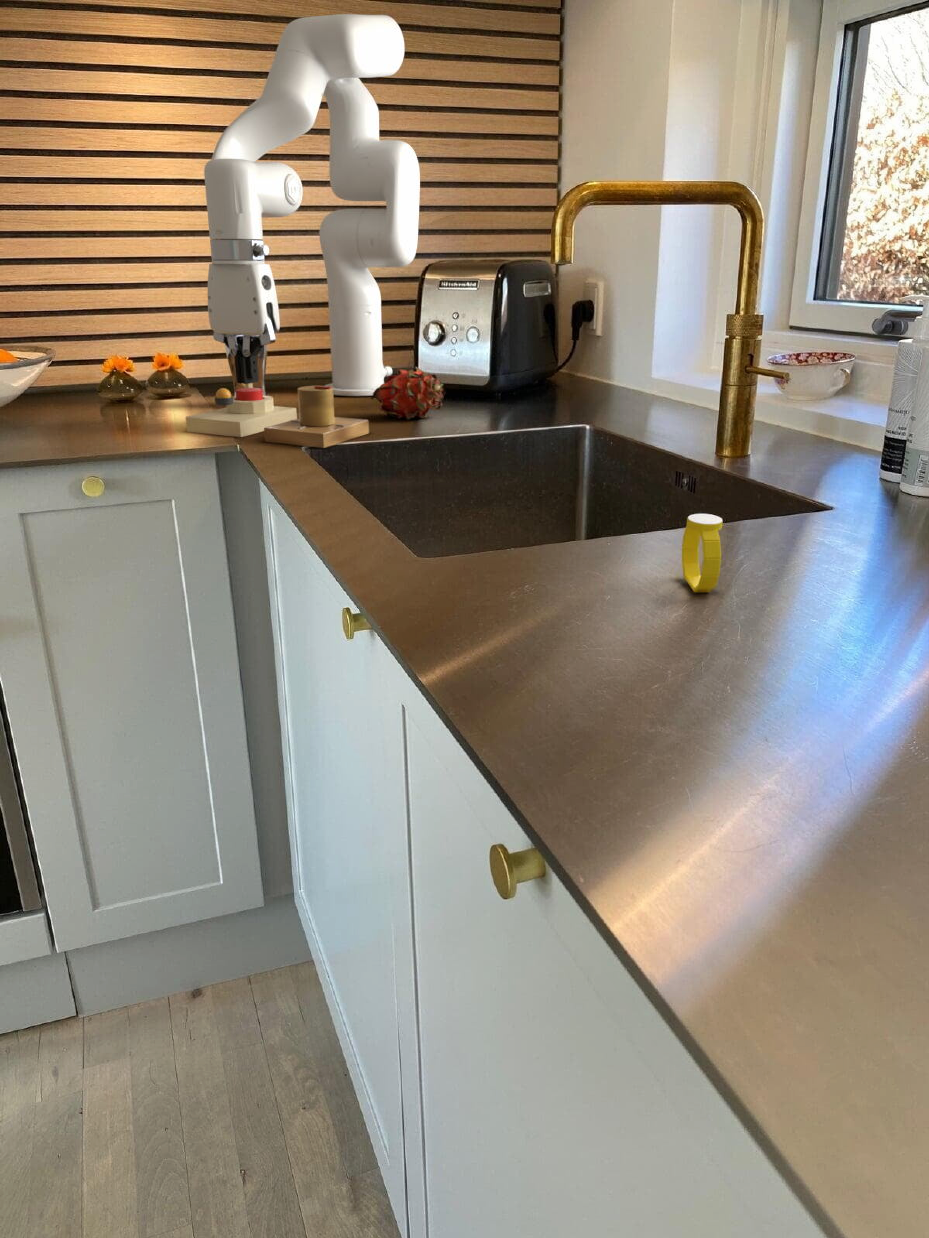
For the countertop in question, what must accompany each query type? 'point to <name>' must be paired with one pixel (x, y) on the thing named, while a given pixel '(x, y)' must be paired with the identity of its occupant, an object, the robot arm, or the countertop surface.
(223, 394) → the lamp
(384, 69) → the robot arm
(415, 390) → the dragon fruit
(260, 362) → the beer glass
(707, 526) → the watch
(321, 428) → the dimmer panel
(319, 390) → the dimmer knob
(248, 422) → the switch block
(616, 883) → the countertop surface
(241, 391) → the light button
